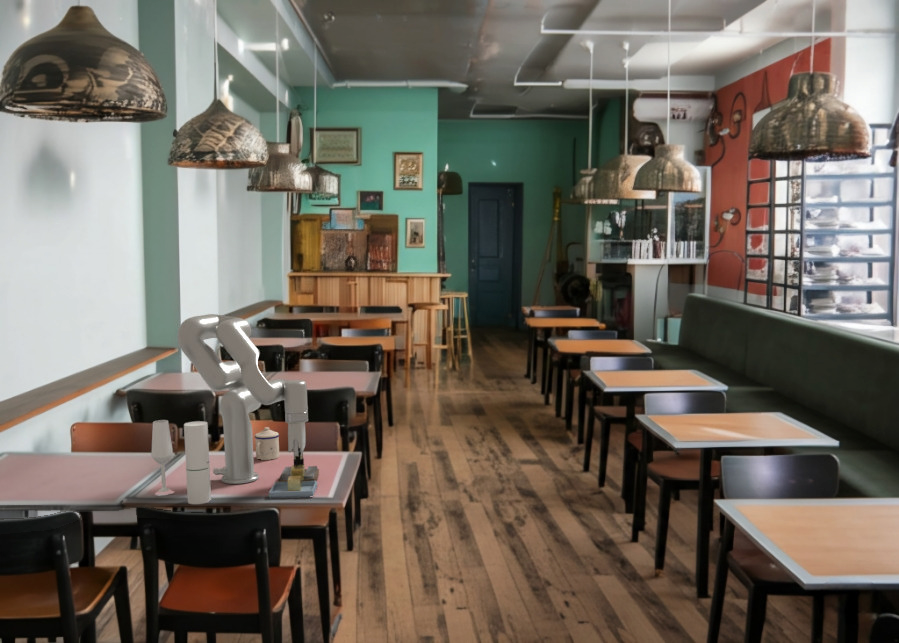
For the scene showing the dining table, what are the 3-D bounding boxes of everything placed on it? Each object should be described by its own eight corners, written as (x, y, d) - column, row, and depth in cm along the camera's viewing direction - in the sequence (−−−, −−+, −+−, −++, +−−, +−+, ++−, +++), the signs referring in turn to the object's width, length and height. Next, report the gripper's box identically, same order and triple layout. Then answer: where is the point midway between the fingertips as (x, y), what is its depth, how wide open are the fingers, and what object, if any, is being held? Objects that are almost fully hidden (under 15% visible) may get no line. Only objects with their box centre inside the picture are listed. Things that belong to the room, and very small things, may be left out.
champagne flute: (157, 490, 286) (153, 419, 284) (177, 490, 286) (174, 419, 284) (150, 496, 279) (146, 423, 277) (171, 495, 279) (167, 423, 277)
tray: (269, 498, 274) (268, 492, 274) (275, 487, 286) (274, 482, 286) (313, 497, 275) (312, 491, 274) (317, 486, 286) (317, 480, 286)
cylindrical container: (214, 497, 276) (210, 421, 274) (206, 504, 269) (202, 426, 267) (193, 497, 277) (189, 421, 275) (184, 504, 270) (180, 426, 268)
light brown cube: (291, 480, 286) (290, 469, 285) (293, 476, 290) (292, 464, 289) (303, 480, 286) (303, 468, 285) (304, 475, 290) (304, 464, 289)
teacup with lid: (263, 454, 333) (262, 424, 332) (284, 455, 330) (283, 425, 329) (246, 461, 322) (245, 431, 321) (267, 463, 319) (266, 432, 318)
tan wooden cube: (289, 488, 283) (287, 491, 279) (289, 476, 283) (287, 479, 279) (301, 487, 283) (300, 491, 279) (301, 475, 283) (299, 479, 279)
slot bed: (278, 487, 287) (278, 477, 286) (284, 476, 299) (284, 467, 299) (314, 486, 287) (314, 476, 287) (319, 475, 300) (318, 465, 300)
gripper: (288, 413, 297) (290, 465, 298) (282, 422, 282) (285, 476, 283) (310, 412, 297) (312, 464, 299) (305, 421, 282) (307, 475, 284)
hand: (299, 470), depth 291 cm, fingers closed
